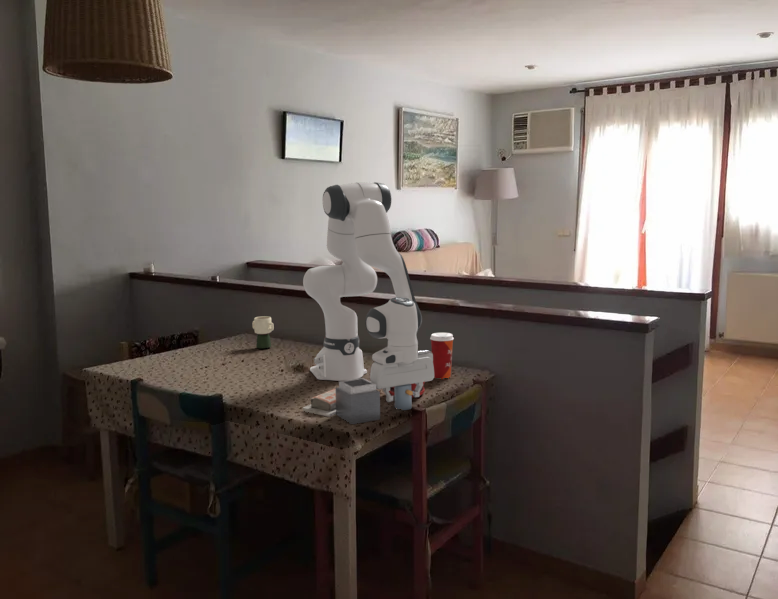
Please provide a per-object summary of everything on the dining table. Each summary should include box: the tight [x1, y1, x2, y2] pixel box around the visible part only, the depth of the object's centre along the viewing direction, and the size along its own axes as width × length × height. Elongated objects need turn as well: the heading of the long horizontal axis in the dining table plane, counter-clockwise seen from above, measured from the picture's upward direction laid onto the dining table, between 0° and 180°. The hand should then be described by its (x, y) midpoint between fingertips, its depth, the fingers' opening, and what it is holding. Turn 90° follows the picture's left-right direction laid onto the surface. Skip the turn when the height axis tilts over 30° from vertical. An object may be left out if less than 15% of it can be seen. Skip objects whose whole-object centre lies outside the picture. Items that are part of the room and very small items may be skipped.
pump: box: [394, 384, 413, 411], centre depth 198 cm, size 7×5×7 cm
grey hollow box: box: [335, 377, 381, 425], centre depth 191 cm, size 10×9×10 cm
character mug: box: [251, 315, 275, 349], centre depth 281 cm, size 11×7×13 cm, turn 62°
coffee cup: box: [429, 332, 455, 380], centre depth 232 cm, size 8×8×15 cm
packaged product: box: [302, 387, 337, 418], centre depth 202 cm, size 18×5×10 cm
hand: (403, 398), depth 199 cm, fingers open, 8 cm apart
